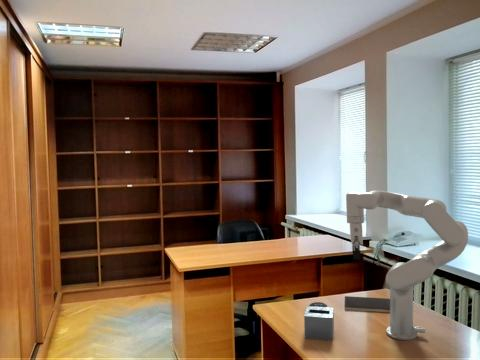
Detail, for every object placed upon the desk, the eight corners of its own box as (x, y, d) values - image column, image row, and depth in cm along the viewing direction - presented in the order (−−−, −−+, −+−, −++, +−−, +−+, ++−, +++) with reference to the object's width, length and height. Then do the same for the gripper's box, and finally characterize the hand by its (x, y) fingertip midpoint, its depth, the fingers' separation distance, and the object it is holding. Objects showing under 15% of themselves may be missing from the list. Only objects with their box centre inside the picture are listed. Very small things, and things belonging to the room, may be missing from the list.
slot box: (333, 329, 194) (333, 307, 194) (332, 340, 183) (332, 318, 182) (307, 326, 197) (307, 305, 197) (304, 338, 186) (304, 316, 185)
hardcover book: (392, 313, 211) (392, 309, 211) (344, 310, 217) (344, 306, 217) (389, 302, 227) (389, 298, 226) (344, 299, 232) (344, 295, 232)
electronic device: (327, 320, 208) (328, 305, 222) (325, 310, 207) (326, 295, 221) (308, 322, 210) (310, 306, 225) (306, 311, 209) (308, 297, 224)
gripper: (365, 222, 184) (366, 261, 185) (362, 216, 201) (363, 252, 202) (347, 222, 186) (348, 261, 187) (346, 216, 203) (347, 251, 204)
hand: (356, 256), depth 194 cm, fingers open, 9 cm apart
